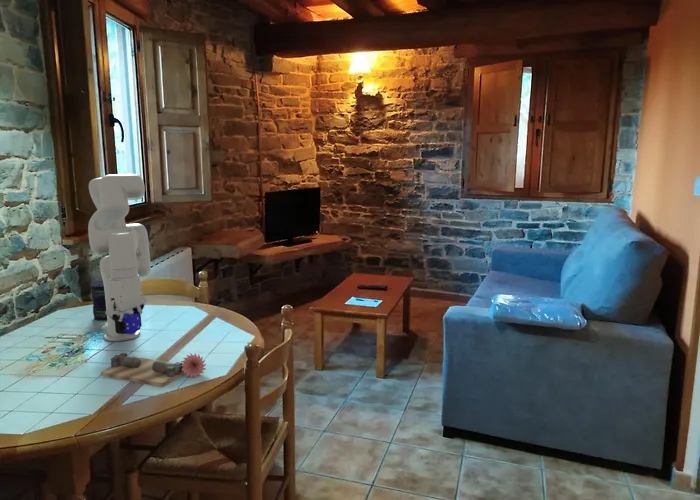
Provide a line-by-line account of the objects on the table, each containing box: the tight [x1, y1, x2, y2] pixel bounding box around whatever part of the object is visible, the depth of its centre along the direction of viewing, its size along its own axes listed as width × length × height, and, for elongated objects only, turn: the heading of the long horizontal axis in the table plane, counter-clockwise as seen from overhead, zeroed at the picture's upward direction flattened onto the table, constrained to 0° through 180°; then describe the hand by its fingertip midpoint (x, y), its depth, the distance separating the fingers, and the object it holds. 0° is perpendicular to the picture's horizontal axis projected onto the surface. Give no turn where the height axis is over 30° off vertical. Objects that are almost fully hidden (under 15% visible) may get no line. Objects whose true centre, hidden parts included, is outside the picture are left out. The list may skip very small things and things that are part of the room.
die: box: [117, 313, 141, 334], centre depth 165 cm, size 5×5×5 cm
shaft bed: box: [100, 352, 185, 388], centre depth 170 cm, size 25×14×4 cm, turn 69°
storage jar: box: [90, 280, 107, 322], centre depth 226 cm, size 10×10×15 cm
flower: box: [181, 352, 207, 378], centre depth 168 cm, size 8×8×6 cm
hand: (128, 329), depth 165 cm, fingers closed on die, 6 cm apart
